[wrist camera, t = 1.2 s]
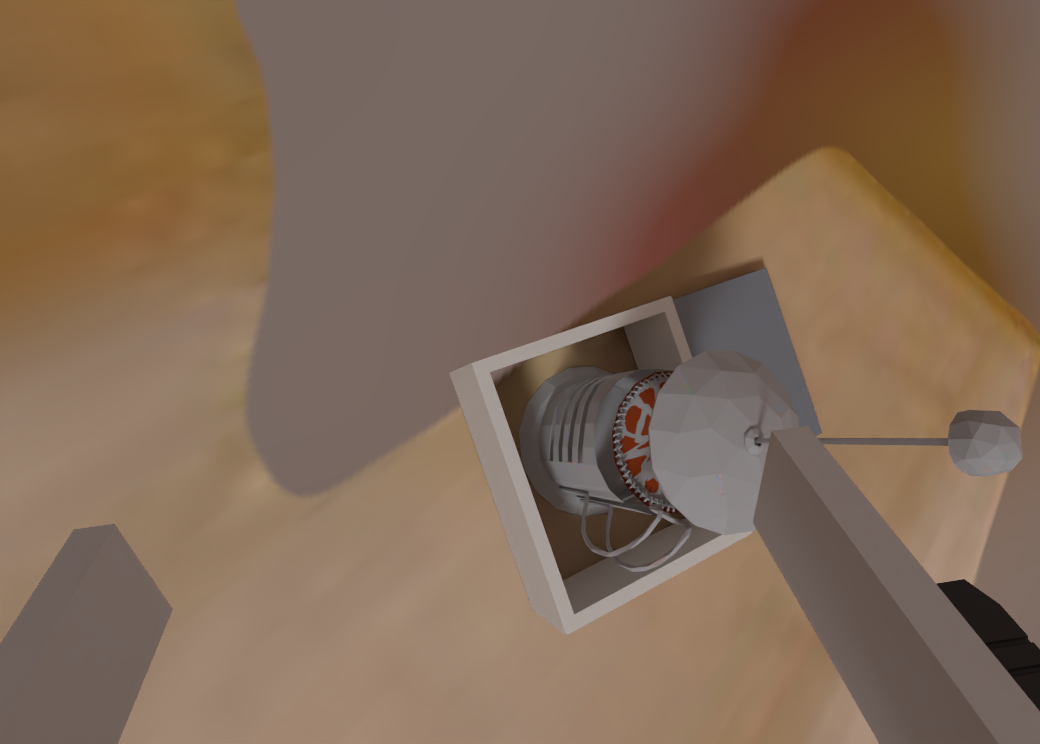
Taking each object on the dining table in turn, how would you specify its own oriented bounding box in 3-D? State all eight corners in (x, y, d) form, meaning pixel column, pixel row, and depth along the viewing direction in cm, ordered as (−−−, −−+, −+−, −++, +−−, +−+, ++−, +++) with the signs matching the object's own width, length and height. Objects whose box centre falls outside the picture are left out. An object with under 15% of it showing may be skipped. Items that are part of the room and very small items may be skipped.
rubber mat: (639, 311, 41) (647, 308, 41) (756, 271, 45) (766, 267, 44) (700, 487, 42) (709, 488, 41) (811, 432, 46) (822, 432, 45)
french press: (674, 411, 42) (1152, 377, 18) (606, 568, 39) (1073, 766, 15) (560, 337, 39) (944, 190, 16) (478, 499, 36) (801, 609, 13)
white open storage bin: (449, 372, 36) (471, 362, 32) (628, 311, 41) (671, 295, 37) (532, 610, 37) (566, 635, 32) (701, 522, 41) (752, 532, 37)
